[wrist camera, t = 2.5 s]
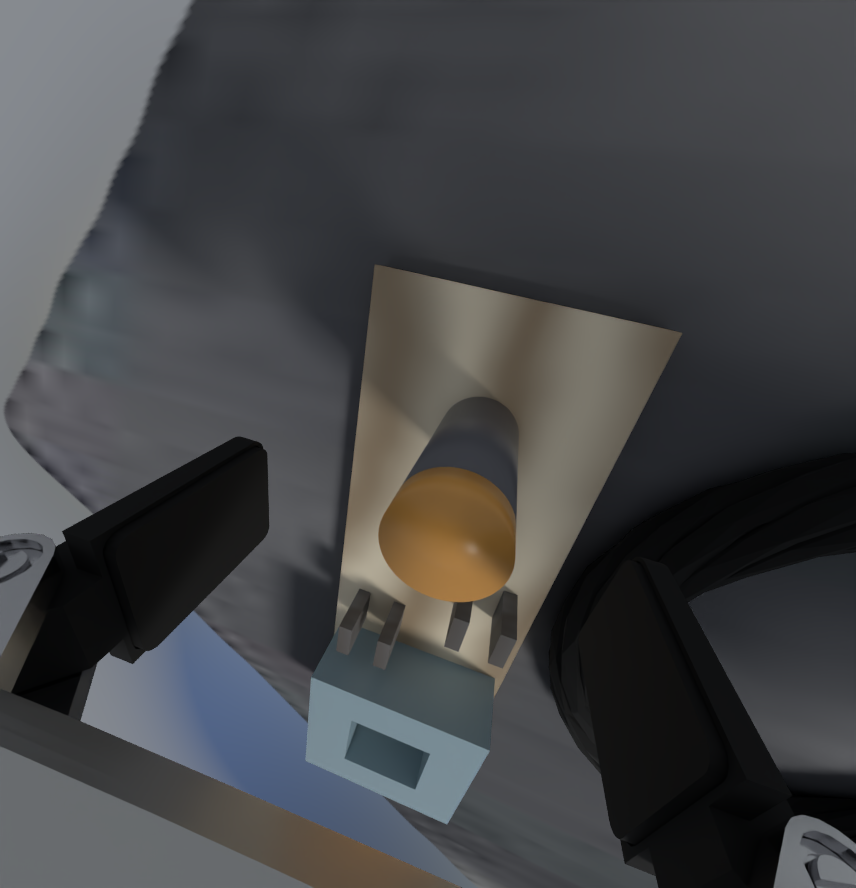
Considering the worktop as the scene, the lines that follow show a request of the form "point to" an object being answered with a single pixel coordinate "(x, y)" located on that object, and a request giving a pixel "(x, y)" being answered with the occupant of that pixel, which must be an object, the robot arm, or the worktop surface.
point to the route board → (539, 452)
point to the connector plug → (458, 507)
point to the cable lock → (719, 571)
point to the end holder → (400, 723)
